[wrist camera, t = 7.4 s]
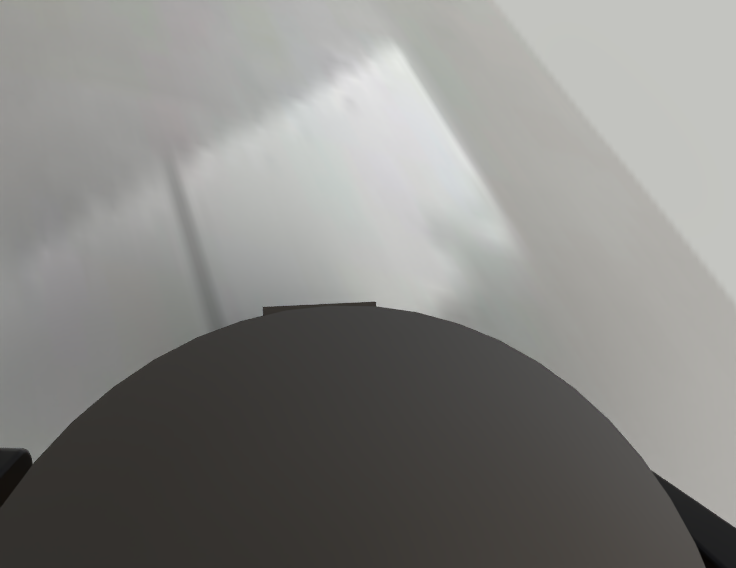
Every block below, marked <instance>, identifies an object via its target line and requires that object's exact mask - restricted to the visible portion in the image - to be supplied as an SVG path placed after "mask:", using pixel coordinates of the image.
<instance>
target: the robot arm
mask: <svg viewBox="0 0 736 568" xmlns="http://www.w3.org/2000/svg"><path fill="white" fill-rule="evenodd" d="M32 465H33V463H32V458H31V455H30V453H29V451H28V450H26V449H23V448H0V508H1V506H2V505H3V504H4V502H5V501H6V500H7V498H8V497H9V496H10V494H11V493H12V492H13V490H14V489H15V488H16V486H17V485H18V484H19V482H20V481H21V480H22V478H23V477H24V476H25V474H26V473H27V472H28V470H29V469H30V468H31V466H32ZM652 473H653V474H654V476H655V477H656V478H657V480H658V481H659V483H660V484H661V486H662V487H663V488H664V490H665V491H666V493H667V494H668V496H669V497H670V499H671V500H672V502H673V504H674V506H675V508H676V509H677V511H678V513H679V515H680V517H681V518H682V520H683V522H684V524H685V526H686V527H687V529H688V531H689V533H690V535H691V537H692V538H693V540H694V542H695V544H696V546H697V548H698V551H699V553H700V555H701V558H702V560H703V562H704V565H705V567H706V568H736V528H735V527H733V526H732V525H730V524H729V523H728V522H726V521H725V520H723V519H722V518H720V517H719V516H717V515H716V514H714V513H713V512H711V511H710V510H709V509H707V508H706V507H704V506H703V505H701V504H700V503H698V502H697V501H695V500H694V499H692V498H691V497H689V496H688V495H687V494H685V493H684V492H682V491H681V490H679V489H678V488H676V487H675V486H673V485H672V484H670V483H669V482H668V481H666V480H665V479H663V478H662V477H660V476H659V475H657V474H656V473H654V472H653V471H652Z"/></svg>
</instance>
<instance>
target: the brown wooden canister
mask: <svg viewBox="0 0 736 568" xmlns="http://www.w3.org/2000/svg"><path fill="white" fill-rule="evenodd" d="M0 568H706V567H705V565H704V562H703V560H702V558H701V555H700V553H699V551H698V548H697V546H696V544H695V542H694V540H693V538H692V537H691V535H690V533H689V531H688V529H687V527H686V526H685V524H684V522H683V520H682V518H681V517H680V515H679V513H678V511H677V509H676V508H675V506H674V504H673V502H672V500H671V499H670V497H669V496H668V494H667V493H666V491H665V490H664V488H663V487H662V486H661V484H660V483H659V481H658V480H657V478H656V477H655V476H654V474H653V473H652V471H651V470H650V468H649V467H648V466H647V464H646V463H645V461H644V460H643V458H642V457H641V456H640V455H639V454H638V452H637V451H636V450H635V449H634V448H633V447H632V446H631V444H630V443H629V442H628V441H627V440H626V439H625V438H624V436H623V435H622V434H621V433H620V432H619V431H618V430H617V428H616V427H615V426H614V425H613V424H612V423H611V422H610V420H609V419H608V418H606V417H605V416H604V415H603V414H602V413H601V412H600V411H599V410H598V409H597V408H595V407H594V406H593V405H592V404H591V403H590V402H589V401H588V400H587V399H586V398H584V397H583V396H582V395H581V394H580V393H579V392H578V391H577V390H576V389H575V388H573V387H572V386H571V385H569V384H568V383H566V382H565V381H564V380H562V379H561V378H559V377H558V376H557V375H555V374H554V373H552V372H551V371H550V370H548V369H547V368H546V367H544V366H543V365H541V364H540V363H539V362H537V361H535V360H534V359H532V358H530V357H528V356H526V355H525V354H523V353H521V352H519V351H517V350H516V349H514V348H512V347H510V346H508V345H507V344H505V343H503V342H501V341H499V340H497V339H495V338H492V337H490V336H487V335H485V334H482V333H480V332H478V331H475V330H473V329H470V328H468V327H465V326H463V325H460V324H458V323H454V322H450V321H447V320H443V319H439V318H436V317H432V316H428V315H424V314H421V313H417V312H411V311H404V310H396V309H389V308H382V307H376V302H360V303H339V304H318V305H297V306H275V307H263V316H261V317H256V318H252V319H248V320H244V321H240V322H238V323H235V324H232V325H230V326H227V327H224V328H221V329H219V330H216V331H213V332H211V333H208V334H205V335H203V336H200V337H197V338H195V339H194V340H192V341H190V342H188V343H186V344H184V345H182V346H180V347H178V348H176V349H174V350H172V351H170V352H168V353H166V354H164V355H162V356H160V357H158V358H157V359H155V360H153V361H152V362H150V363H149V364H147V365H146V366H144V367H143V368H141V369H140V370H138V371H137V372H135V373H134V374H132V375H131V376H129V377H128V378H126V379H125V380H123V381H122V382H120V383H119V384H117V385H116V386H114V387H113V388H112V389H111V390H109V391H108V392H107V393H106V394H105V395H104V396H102V397H101V398H100V399H99V400H98V401H96V402H95V403H94V404H93V405H92V406H91V407H89V408H88V409H87V410H86V411H85V412H84V413H82V414H81V415H80V416H79V417H78V418H77V419H75V420H74V421H73V422H72V423H71V424H70V425H69V426H68V427H67V428H66V429H65V430H64V431H63V433H62V434H61V435H60V436H59V437H58V438H57V439H56V440H55V441H54V442H53V443H52V444H51V445H50V446H49V447H48V449H47V450H46V451H45V452H44V453H43V454H42V455H41V456H40V457H39V458H38V459H37V460H36V461H35V462H34V464H33V465H32V466H31V468H30V469H29V470H28V472H27V473H26V474H25V476H24V477H23V478H22V480H21V481H20V482H19V484H18V485H17V486H16V488H15V489H14V490H13V492H12V493H11V494H10V496H9V497H8V498H7V500H6V501H5V502H4V504H3V505H2V506H1V508H0Z"/></svg>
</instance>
